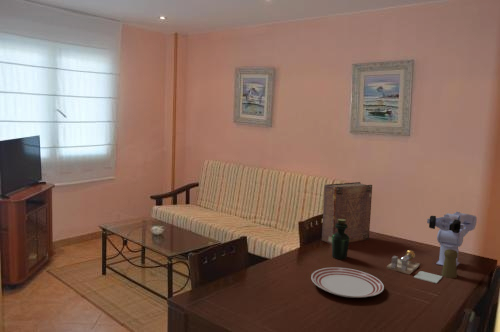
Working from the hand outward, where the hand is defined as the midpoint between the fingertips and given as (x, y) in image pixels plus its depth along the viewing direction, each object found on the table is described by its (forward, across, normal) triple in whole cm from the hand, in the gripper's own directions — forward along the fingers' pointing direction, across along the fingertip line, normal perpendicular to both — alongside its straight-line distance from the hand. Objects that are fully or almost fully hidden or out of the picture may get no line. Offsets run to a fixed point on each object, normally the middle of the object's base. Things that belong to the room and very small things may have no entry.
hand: (440, 225), depth 175 cm
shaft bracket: (-3, -14, +22) cm, 26 cm away
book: (-22, -51, +20) cm, 59 cm away
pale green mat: (+2, -2, +22) cm, 22 cm away
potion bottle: (+5, -41, +22) cm, 47 cm away
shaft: (-6, -14, +20) cm, 25 cm away
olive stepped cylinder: (-7, +4, +21) cm, 23 cm away
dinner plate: (+35, -23, +25) cm, 49 cm away
